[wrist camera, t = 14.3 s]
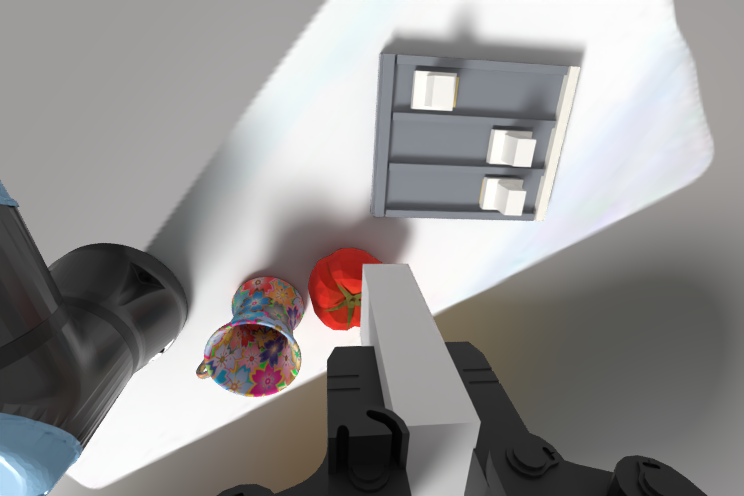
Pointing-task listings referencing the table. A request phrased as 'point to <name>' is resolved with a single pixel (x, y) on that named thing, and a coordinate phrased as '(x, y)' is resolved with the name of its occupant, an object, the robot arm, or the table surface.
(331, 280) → the tomato
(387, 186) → the switch bank
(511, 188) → the tab
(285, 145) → the table surface
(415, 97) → the tab
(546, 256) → the table surface
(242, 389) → the mug
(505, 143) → the tab
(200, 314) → the table surface
